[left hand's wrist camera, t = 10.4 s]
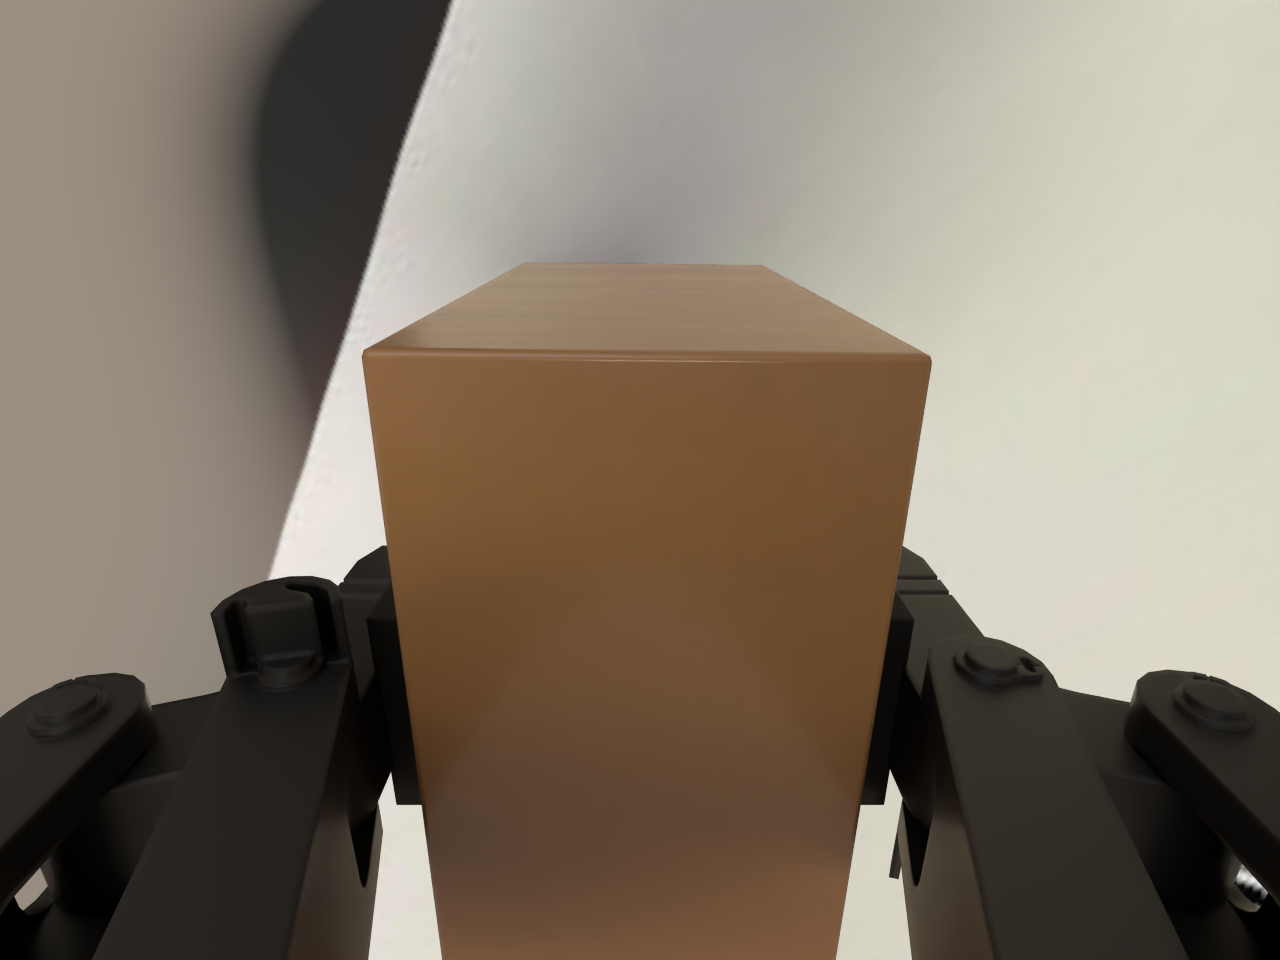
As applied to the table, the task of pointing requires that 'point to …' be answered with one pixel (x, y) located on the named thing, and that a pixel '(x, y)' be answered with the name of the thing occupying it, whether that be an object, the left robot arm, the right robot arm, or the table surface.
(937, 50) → the table surface
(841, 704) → the bar
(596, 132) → the table surface
